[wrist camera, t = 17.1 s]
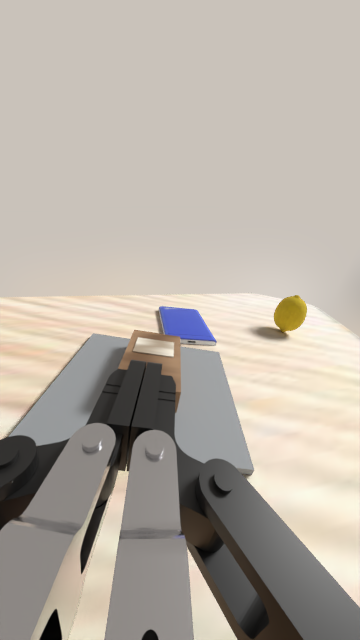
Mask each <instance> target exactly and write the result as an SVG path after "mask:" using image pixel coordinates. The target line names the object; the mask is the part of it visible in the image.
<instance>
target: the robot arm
mask: <svg viewBox="0 0 360 640" xmlns="http://www.w3.org/2000/svg"><path fill="white" fill-rule="evenodd" d="M146 364H147V366H146ZM161 371H162V364H161V363H154V362H146V361H139V360H132V359H131V361H130V364H129V366H128V369H127V370H124V369H117V370H116V371H114V372H113V373H112V374H111V375H110V376H109V378H108V380H107V382H106V385H105V386H104V388H103V390H102V393H101V395H100V397H99V399H98V401H97V403H96V405H95V407H94V409H93V411H92V413H91V415H90V417H89V419H88V421H87V423H86V425H85V426H83V427H81V428H80V429H78V430H77V431H76V432H75V433H74V434H73V435H72V437H71V438H69V439H67V440H64V441H61V442H56V443H51V444H45V445H40V446H36V443H35V441H34V440H33V439H32V438H30V437H28V436H24V435H16V436H11V437H7V438H4V439H2V440H0V640H68V638H69V635H70V632H71V629H72V626H73V623H74V619H75V616H76V613H77V609H78V606H79V602H80V598H81V594H82V589H83V584H84V580H85V576H86V573H87V570H88V567H89V564H90V560H91V557H92V554H93V551H94V548H95V545H96V542H97V539H98V536H99V533H100V530H101V527H102V524H103V521H104V518H105V515H106V511H107V508H108V505H109V502H110V499H111V496H112V491H113V488H114V485H115V481H116V477H117V474H118V470H122V471H125V468H126V464H127V460H128V464H127V471H129V476H128V483H127V490H126V497H125V504H124V511H123V518H122V525H121V531H120V536H119V543H118V549H117V556H116V563H115V570H114V577H113V584H112V591H111V598H110V605H109V612H108V618H107V625H106V632H105V639H104V640H194V636H193V622H192V608H191V594H190V580H189V566H188V554H187V547H188V549H189V551H190V553H191V555H192V557H193V558H194V560H195V562H196V564H197V566H198V568H199V569H200V571H201V573H202V575H203V577H204V579H205V580H206V582H207V584H208V586H209V588H210V590H211V591H212V593H213V595H214V597H215V599H216V601H217V603H218V604H219V606H220V608H221V610H222V612H223V614H224V615H225V617H226V619H227V621H228V623H229V625H230V626H231V628H232V630H233V632H234V634H235V636H236V637H237V639H238V640H360V608H359V607H358V605H357V604H356V603H355V602H354V601H353V600H352V599H351V597H350V596H349V595H348V594H347V593H346V592H345V591H344V589H343V588H342V587H341V586H340V585H339V584H338V583H337V582H336V580H335V579H334V578H333V577H332V576H331V575H330V574H329V572H328V571H327V570H326V569H325V568H324V567H323V566H322V565H321V563H320V562H319V561H318V560H317V559H316V558H315V557H314V555H313V554H312V553H311V552H310V551H309V550H308V549H307V548H306V546H305V545H304V544H303V543H302V542H301V541H300V540H299V538H298V537H297V536H296V535H295V534H294V533H293V532H292V531H291V529H290V528H289V527H288V526H287V525H286V524H285V523H284V521H283V520H282V519H281V518H280V517H279V516H278V515H277V514H276V512H275V511H274V510H273V509H272V508H271V507H270V506H269V504H268V503H267V502H266V501H265V500H264V499H263V498H262V497H261V495H260V494H259V493H258V492H257V491H256V490H255V489H254V487H253V486H252V485H251V484H250V483H249V482H248V481H247V479H246V478H245V477H244V476H243V475H242V474H241V473H240V472H239V470H238V469H237V468H236V467H235V466H234V465H232V464H231V463H229V462H228V461H226V460H223V459H217V458H215V459H211V460H208V461H207V462H205V463H202V462H200V461H198V460H196V459H194V458H192V457H190V456H188V455H187V454H185V453H184V452H183V451H182V450H181V449H180V447H179V446H178V444H177V442H176V440H175V401H176V383H175V381H174V379H173V377H172V376H169V375H161Z"/></svg>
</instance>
